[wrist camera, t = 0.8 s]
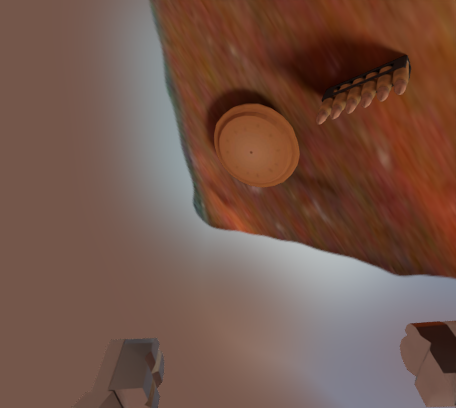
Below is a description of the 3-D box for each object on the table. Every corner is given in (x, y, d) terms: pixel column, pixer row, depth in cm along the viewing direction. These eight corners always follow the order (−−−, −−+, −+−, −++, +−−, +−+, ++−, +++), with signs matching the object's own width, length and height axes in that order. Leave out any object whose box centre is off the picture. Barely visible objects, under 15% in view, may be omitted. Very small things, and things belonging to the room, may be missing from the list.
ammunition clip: (407, 54, 39) (407, 80, 31) (411, 68, 40) (412, 97, 31) (326, 89, 46) (308, 119, 37) (330, 101, 46) (313, 132, 38)
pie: (260, 190, 62) (251, 204, 58) (207, 132, 59) (194, 143, 56) (323, 149, 51) (317, 163, 48) (262, 76, 49) (250, 85, 45)
